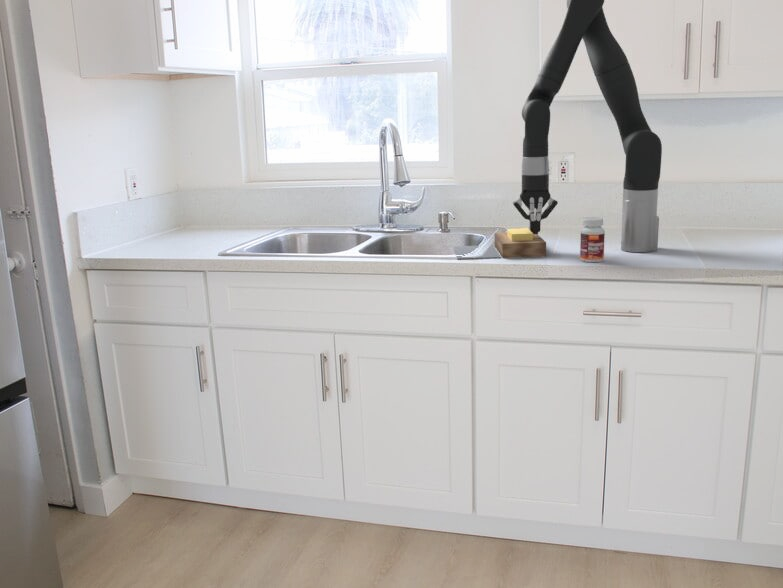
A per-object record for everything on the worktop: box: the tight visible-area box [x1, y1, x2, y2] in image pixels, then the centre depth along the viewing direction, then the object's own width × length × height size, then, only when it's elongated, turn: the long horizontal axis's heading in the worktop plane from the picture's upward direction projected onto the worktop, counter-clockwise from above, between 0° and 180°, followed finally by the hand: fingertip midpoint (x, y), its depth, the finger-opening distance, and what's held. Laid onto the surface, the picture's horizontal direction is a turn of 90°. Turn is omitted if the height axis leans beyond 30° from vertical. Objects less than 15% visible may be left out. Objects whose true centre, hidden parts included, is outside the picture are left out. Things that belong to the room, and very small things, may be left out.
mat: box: [452, 244, 502, 260], centre depth 217 cm, size 12×18×1 cm, turn 179°
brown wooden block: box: [494, 232, 547, 259], centre depth 216 cm, size 12×18×4 cm, turn 179°
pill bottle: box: [579, 216, 606, 263], centre depth 199 cm, size 6×6×11 cm
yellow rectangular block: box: [507, 227, 533, 241], centre depth 214 cm, size 6×9×2 cm, turn 179°
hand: (534, 233), depth 214 cm, fingers closed
